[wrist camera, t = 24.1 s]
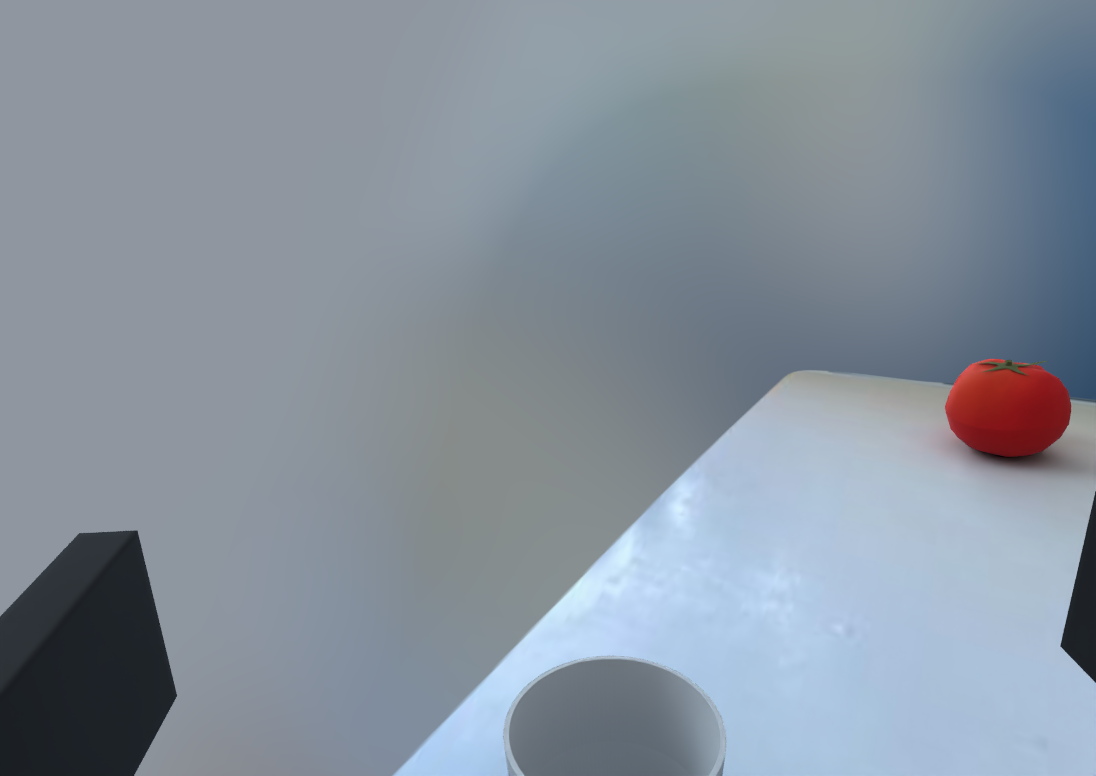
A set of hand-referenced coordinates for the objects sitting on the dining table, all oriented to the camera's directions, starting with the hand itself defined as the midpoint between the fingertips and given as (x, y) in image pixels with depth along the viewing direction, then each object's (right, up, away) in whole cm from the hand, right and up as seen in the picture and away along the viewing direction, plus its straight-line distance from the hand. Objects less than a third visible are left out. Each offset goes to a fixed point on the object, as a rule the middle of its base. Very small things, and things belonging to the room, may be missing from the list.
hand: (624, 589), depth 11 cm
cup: (+2, -19, +22) cm, 29 cm away
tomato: (+40, -3, +64) cm, 75 cm away
